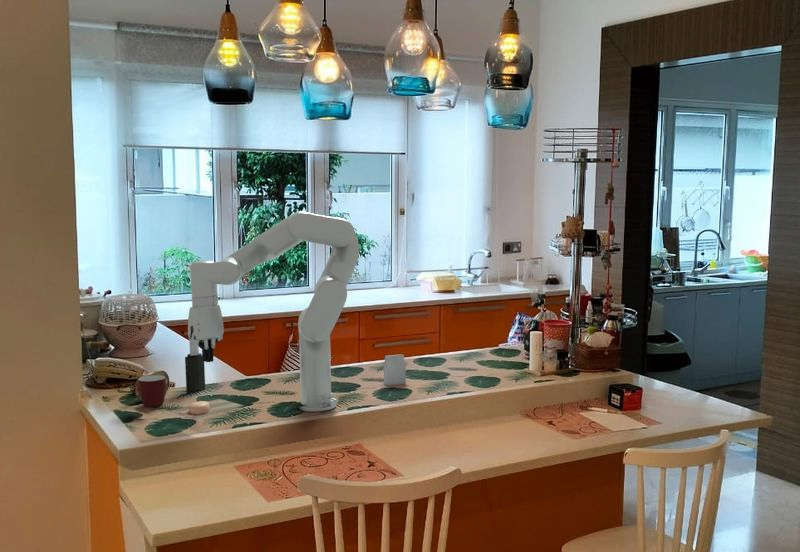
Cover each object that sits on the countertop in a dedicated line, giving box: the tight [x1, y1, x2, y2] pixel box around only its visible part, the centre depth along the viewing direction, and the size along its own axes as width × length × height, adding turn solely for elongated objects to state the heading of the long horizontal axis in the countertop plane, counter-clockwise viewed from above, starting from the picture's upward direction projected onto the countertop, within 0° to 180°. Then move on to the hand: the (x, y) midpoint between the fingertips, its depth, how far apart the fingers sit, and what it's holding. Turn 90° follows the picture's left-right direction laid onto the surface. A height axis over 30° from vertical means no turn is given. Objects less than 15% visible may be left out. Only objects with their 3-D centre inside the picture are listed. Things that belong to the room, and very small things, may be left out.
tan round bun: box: [188, 400, 211, 415], centre depth 237 cm, size 6×6×3 cm
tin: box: [134, 370, 170, 402], centre depth 258 cm, size 15×3×8 cm, turn 160°
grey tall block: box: [383, 353, 407, 386], centre depth 274 cm, size 4×7×10 cm, turn 111°
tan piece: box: [170, 398, 245, 420], centre depth 240 cm, size 13×18×2 cm
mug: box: [138, 375, 166, 408], centre depth 245 cm, size 11×8×10 cm
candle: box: [184, 337, 206, 395], centre depth 262 cm, size 5×5×25 cm
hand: (208, 361), depth 239 cm, fingers closed
